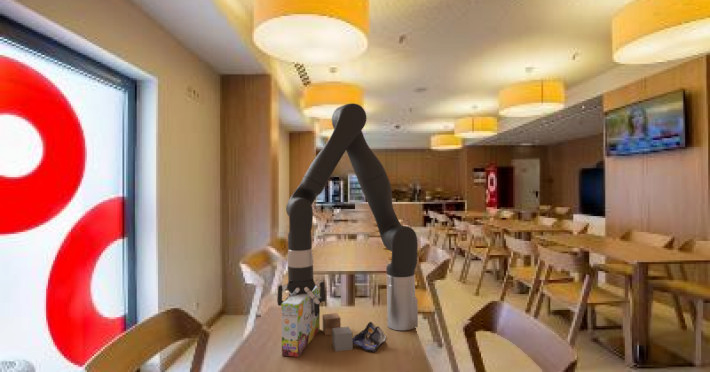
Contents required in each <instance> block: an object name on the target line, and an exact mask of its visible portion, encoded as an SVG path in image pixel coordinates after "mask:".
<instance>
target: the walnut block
mask: <svg viewBox="0 0 710 372" xmlns="http://www.w3.org/2000/svg"><path fill="white" fill-rule="evenodd" d="M321 319H322V321H321V322H322V332H323V333H324V335H325V336H328V335H332V328H340V327H342V326H341V325H342V324H341V316H340V314H339V312H333V313H325V314H323V313H322V314H321Z"/></svg>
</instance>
